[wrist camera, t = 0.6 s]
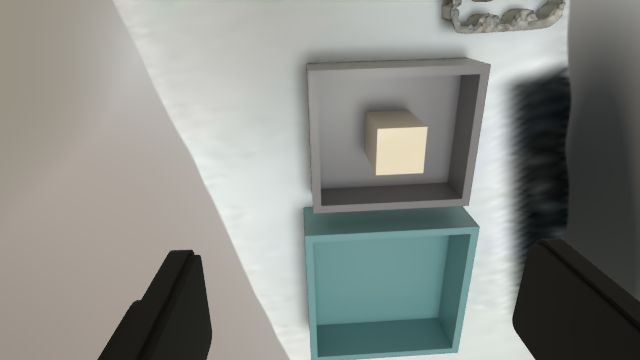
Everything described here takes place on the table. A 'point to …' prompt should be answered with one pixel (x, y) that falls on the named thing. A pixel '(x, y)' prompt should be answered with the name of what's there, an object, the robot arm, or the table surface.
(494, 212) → the table surface
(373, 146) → the stone block
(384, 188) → the bin
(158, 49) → the table surface
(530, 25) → the egg carton
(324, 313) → the bin
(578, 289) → the robot arm
